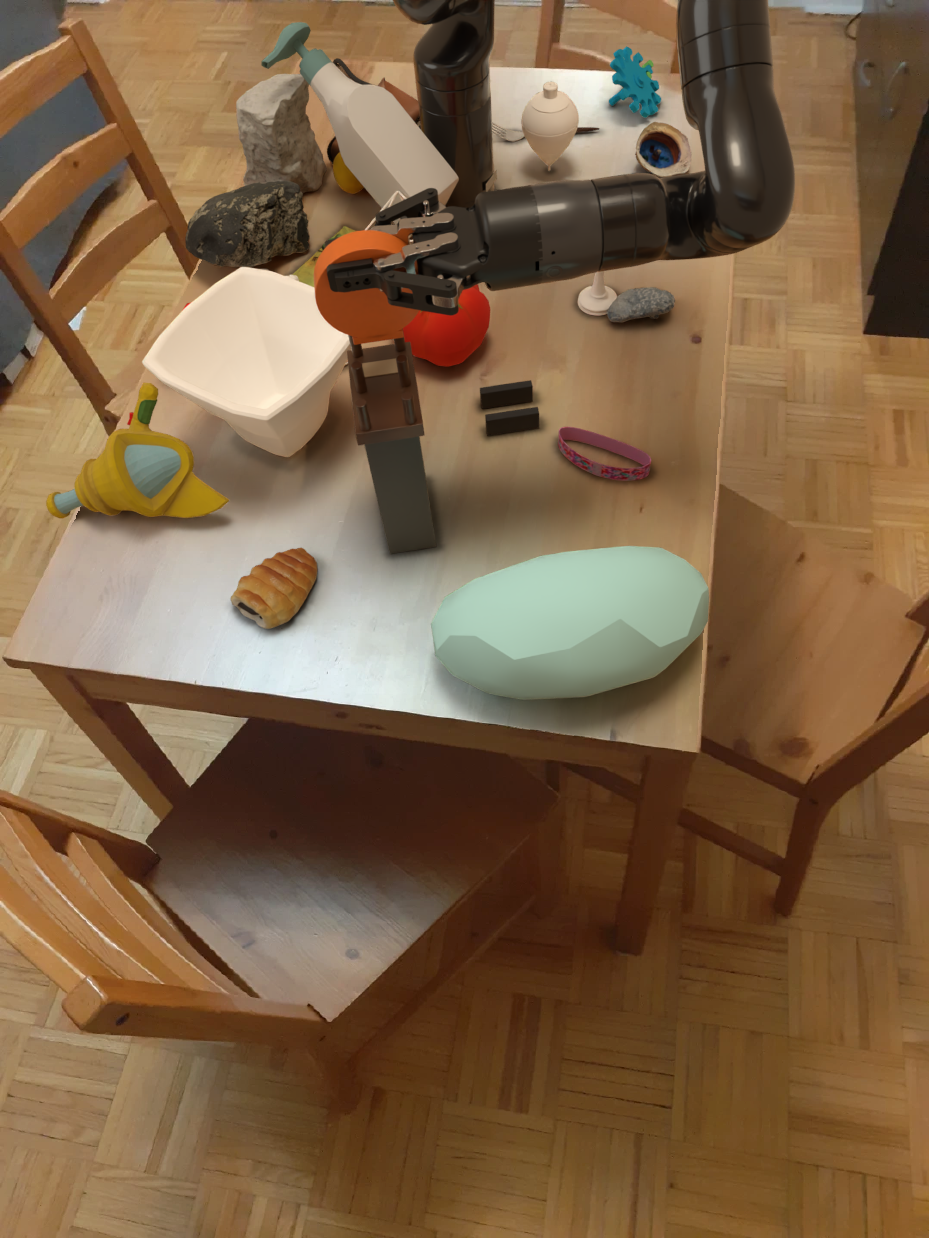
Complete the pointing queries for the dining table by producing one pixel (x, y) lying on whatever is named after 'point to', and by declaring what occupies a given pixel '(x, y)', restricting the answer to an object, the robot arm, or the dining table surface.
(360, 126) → the soap bottle
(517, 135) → the fork
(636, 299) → the fossil
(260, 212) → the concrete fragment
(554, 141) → the spinning top
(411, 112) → the sunglasses case
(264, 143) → the decorative stone
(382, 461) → the stand block
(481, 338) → the tomato
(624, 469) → the headband
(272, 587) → the pastry
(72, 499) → the toy
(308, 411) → the bowl
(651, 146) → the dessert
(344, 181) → the doorknob
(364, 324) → the disc
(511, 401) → the black blocks
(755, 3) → the robot arm
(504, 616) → the decorative stone
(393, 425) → the rack
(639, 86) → the gear
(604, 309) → the chess piece
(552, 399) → the dining table surface
